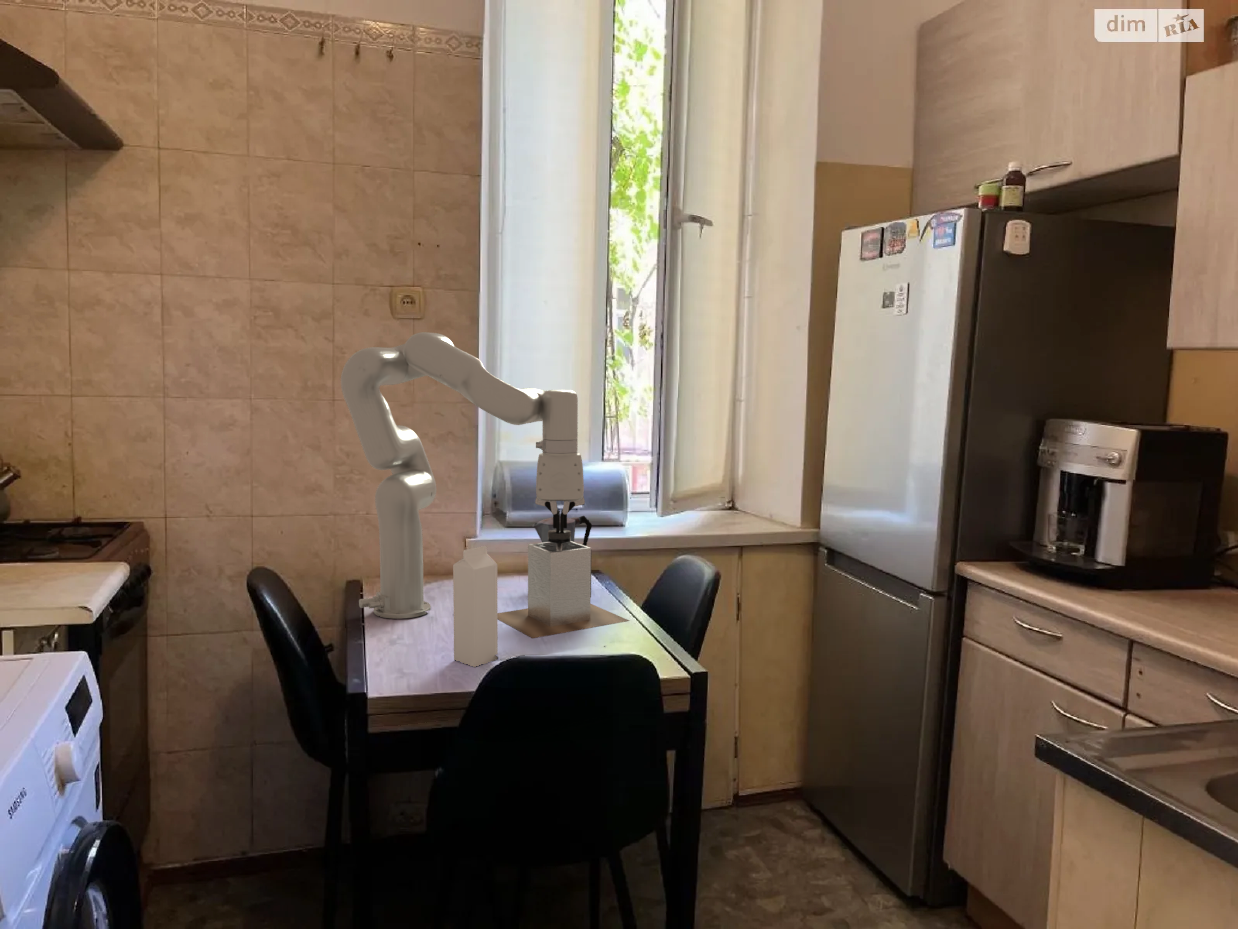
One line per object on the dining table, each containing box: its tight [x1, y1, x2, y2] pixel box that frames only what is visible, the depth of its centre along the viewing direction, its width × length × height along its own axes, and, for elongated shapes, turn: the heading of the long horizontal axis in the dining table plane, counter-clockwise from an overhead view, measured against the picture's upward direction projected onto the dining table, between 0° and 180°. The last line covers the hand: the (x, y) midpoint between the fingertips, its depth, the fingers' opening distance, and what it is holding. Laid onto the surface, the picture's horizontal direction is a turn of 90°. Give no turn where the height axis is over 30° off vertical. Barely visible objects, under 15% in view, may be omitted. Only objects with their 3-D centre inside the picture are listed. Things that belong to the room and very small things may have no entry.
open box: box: [527, 541, 593, 627], centre depth 201 cm, size 13×10×16 cm
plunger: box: [548, 530, 571, 551], centre depth 200 cm, size 8×8×13 cm
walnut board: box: [497, 603, 630, 639], centre depth 201 cm, size 24×20×1 cm
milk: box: [452, 545, 499, 668], centre depth 175 cm, size 6×6×22 cm
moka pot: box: [532, 510, 593, 547], centre depth 231 cm, size 10×15×20 cm, turn 115°
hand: (560, 531), depth 199 cm, fingers closed
